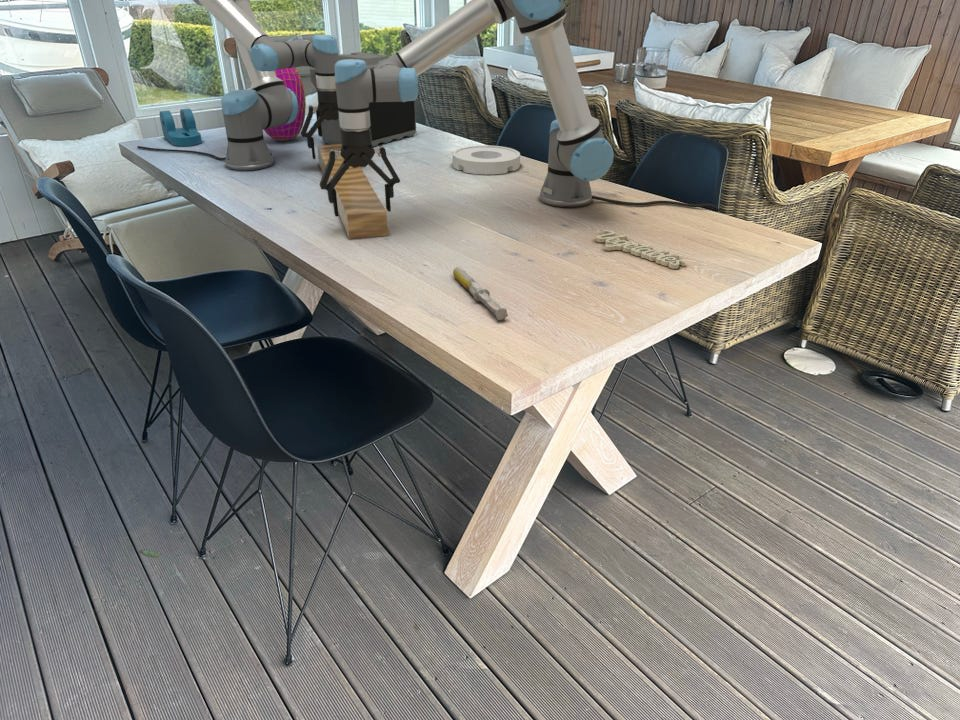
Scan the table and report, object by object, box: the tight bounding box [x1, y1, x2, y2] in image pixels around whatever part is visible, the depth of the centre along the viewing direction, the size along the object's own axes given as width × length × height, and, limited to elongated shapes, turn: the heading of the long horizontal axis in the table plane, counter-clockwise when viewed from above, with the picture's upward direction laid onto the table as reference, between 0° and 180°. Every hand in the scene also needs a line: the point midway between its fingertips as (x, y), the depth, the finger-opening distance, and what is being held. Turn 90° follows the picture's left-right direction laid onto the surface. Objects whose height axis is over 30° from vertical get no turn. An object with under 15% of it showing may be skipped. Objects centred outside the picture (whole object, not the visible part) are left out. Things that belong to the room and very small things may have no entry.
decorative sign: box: [595, 229, 686, 270], centre depth 168 cm, size 26×1×10 cm
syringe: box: [452, 266, 509, 321], centre depth 145 cm, size 25×4×3 cm, turn 21°
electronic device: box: [309, 51, 417, 147], centre depth 260 cm, size 37×22×30 cm, turn 144°
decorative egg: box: [263, 67, 307, 142], centre depth 257 cm, size 19×19×30 cm
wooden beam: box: [316, 144, 389, 240], centre depth 204 cm, size 74×10×6 cm, turn 17°
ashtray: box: [451, 144, 521, 176], centre depth 235 cm, size 23×23×4 cm
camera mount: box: [159, 108, 203, 147], centre depth 259 cm, size 18×10×10 cm, turn 35°
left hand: (334, 157), depth 228 cm, fingers open, 13 cm apart
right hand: (362, 212), depth 179 cm, fingers open, 13 cm apart
